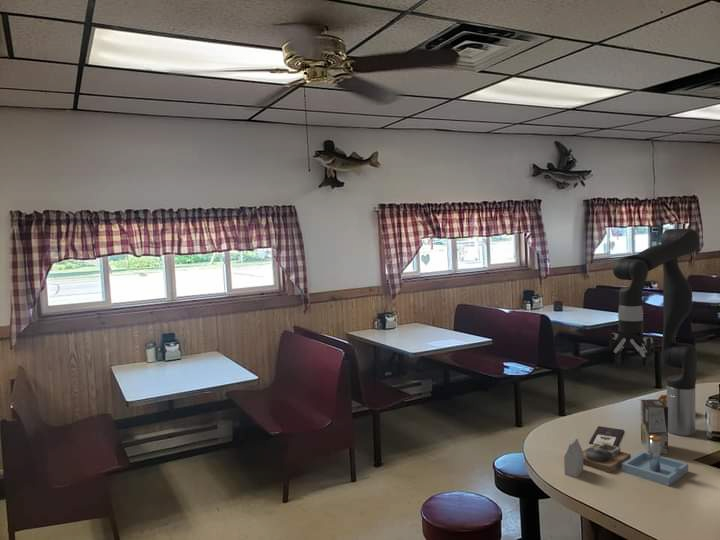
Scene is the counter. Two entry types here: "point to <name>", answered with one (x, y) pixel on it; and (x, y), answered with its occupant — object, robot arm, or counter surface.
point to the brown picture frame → (606, 436)
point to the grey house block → (573, 459)
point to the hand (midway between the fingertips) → (631, 365)
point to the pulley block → (604, 457)
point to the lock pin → (655, 452)
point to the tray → (641, 468)
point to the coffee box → (654, 423)
